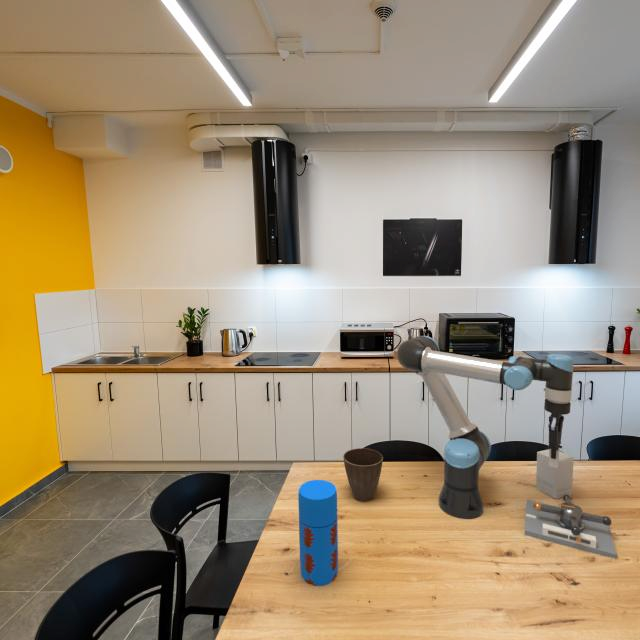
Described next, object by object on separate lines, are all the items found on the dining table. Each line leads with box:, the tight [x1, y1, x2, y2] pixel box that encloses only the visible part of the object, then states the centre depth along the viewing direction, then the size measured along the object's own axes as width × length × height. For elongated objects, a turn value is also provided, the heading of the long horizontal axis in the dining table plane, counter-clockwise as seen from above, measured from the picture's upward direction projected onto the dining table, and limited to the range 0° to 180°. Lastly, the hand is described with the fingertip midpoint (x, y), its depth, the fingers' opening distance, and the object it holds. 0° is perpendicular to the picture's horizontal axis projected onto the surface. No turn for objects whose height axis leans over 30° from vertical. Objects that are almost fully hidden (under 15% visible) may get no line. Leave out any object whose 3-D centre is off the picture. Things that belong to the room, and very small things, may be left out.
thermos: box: [297, 479, 339, 587], centre depth 112 cm, size 11×11×25 cm
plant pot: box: [342, 447, 384, 502], centre depth 151 cm, size 15×15×16 cm
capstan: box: [533, 495, 613, 536], centre depth 129 cm, size 22×22×6 cm
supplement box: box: [535, 448, 575, 500], centre depth 152 cm, size 9×9×15 cm
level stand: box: [524, 499, 618, 560], centre depth 130 cm, size 24×21×4 cm
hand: (553, 466), depth 136 cm, fingers closed
